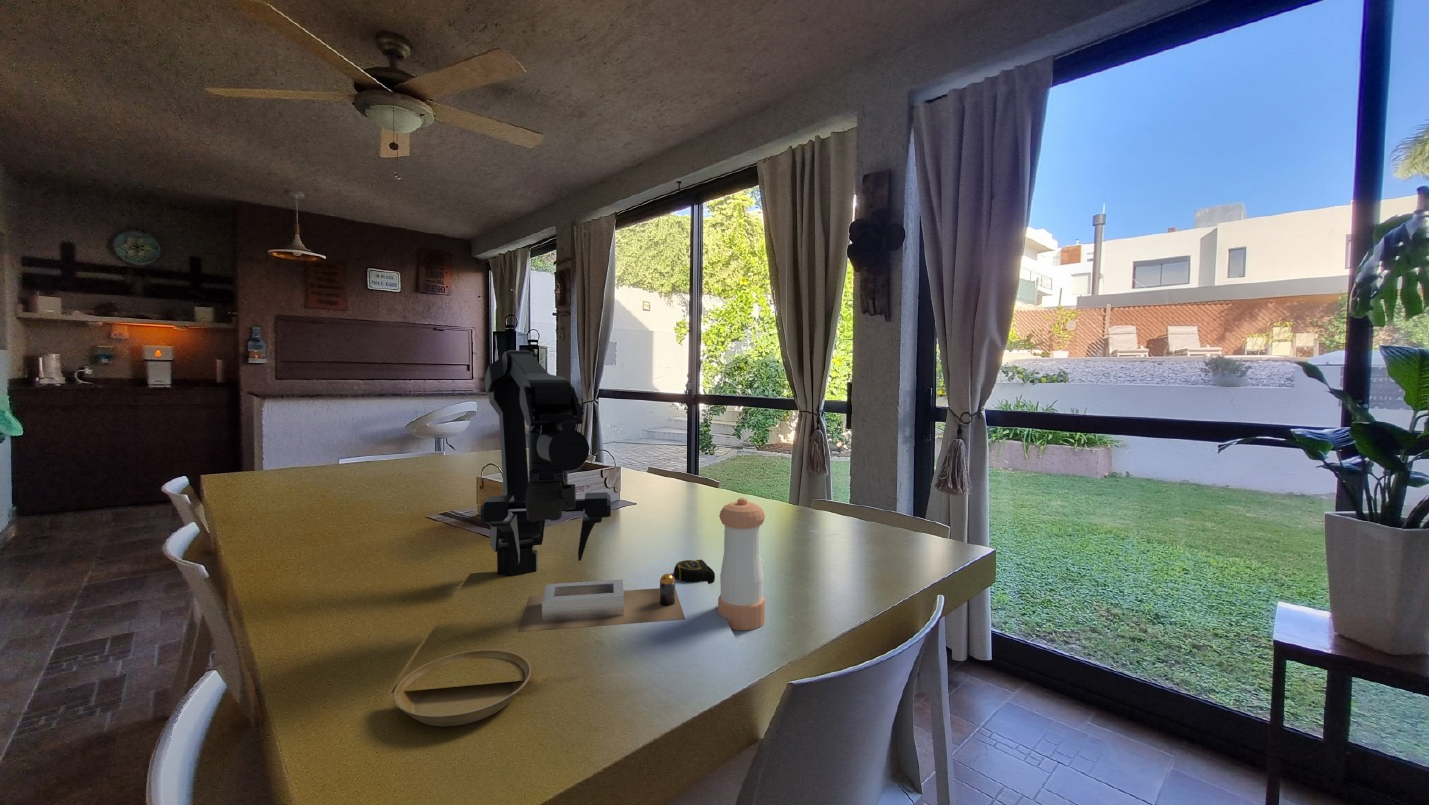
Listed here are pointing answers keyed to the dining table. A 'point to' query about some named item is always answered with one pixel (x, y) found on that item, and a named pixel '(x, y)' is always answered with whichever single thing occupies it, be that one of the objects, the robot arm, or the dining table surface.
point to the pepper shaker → (742, 566)
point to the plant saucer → (459, 693)
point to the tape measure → (693, 571)
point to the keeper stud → (667, 590)
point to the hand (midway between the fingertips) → (548, 561)
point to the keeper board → (636, 610)
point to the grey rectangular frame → (583, 600)
